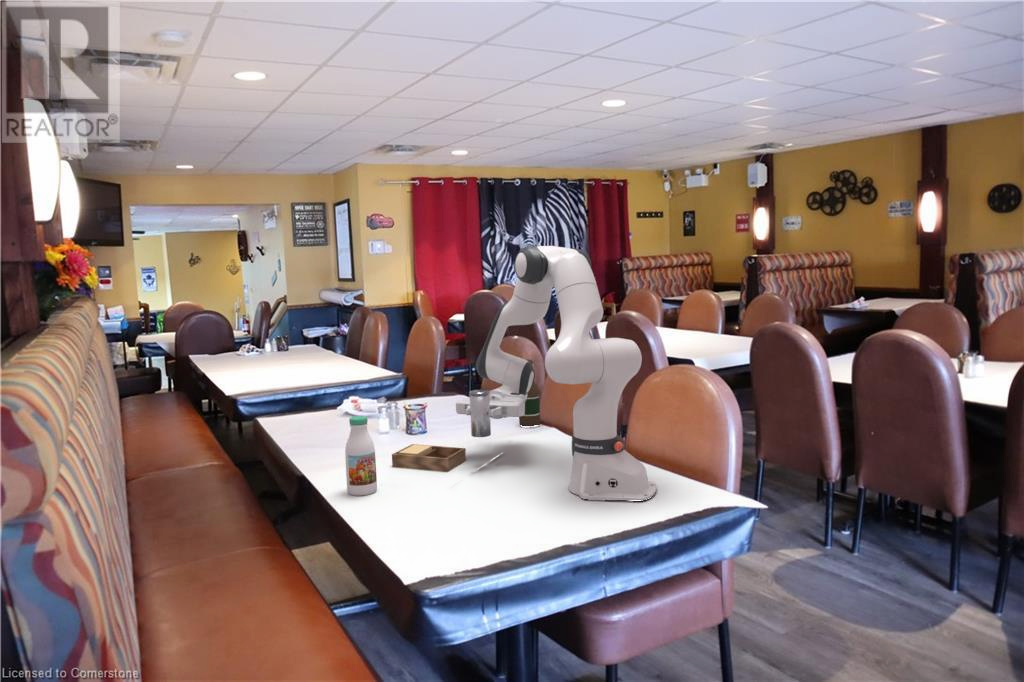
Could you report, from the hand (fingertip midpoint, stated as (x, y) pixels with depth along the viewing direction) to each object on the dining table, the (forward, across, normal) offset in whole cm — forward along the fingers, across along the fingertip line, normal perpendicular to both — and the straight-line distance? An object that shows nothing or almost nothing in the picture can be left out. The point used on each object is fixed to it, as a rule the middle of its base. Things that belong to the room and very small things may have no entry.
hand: (479, 413), depth 203 cm
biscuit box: (+1, -21, +16) cm, 26 cm away
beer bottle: (-55, -6, +17) cm, 57 cm away
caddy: (+1, -16, +16) cm, 23 cm away
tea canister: (-1, 0, +6) cm, 7 cm away
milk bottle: (+27, -22, +17) cm, 39 cm away
